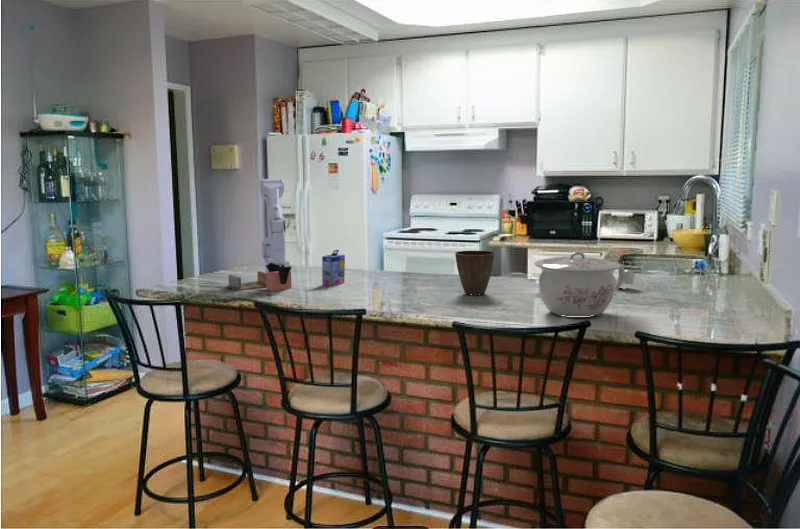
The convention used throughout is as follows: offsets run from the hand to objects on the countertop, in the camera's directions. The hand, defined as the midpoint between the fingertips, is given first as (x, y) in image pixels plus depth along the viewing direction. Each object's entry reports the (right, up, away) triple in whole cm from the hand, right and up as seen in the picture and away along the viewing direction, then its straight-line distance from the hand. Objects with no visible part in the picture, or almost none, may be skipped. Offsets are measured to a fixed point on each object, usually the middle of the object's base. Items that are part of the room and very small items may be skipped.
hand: (279, 282), depth 261 cm
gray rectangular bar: (-18, -2, +1) cm, 18 cm away
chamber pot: (+107, -9, -48) cm, 118 cm away
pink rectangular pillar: (0, -3, 0) cm, 3 cm away
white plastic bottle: (+134, -2, 0) cm, 134 cm away
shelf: (-13, -2, +5) cm, 14 cm away
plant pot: (+77, -4, -13) cm, 79 cm away
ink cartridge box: (+21, -1, +11) cm, 24 cm away
